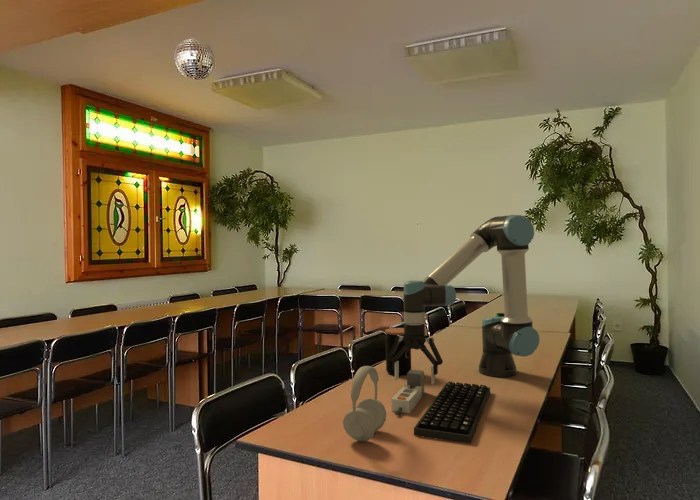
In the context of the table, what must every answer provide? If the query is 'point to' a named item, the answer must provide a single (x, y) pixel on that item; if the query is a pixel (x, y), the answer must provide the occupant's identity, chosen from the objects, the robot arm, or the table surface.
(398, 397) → the strip
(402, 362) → the coffee jar
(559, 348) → the table surface
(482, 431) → the table surface
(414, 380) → the charger
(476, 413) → the computer keyboard
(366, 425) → the headphones
